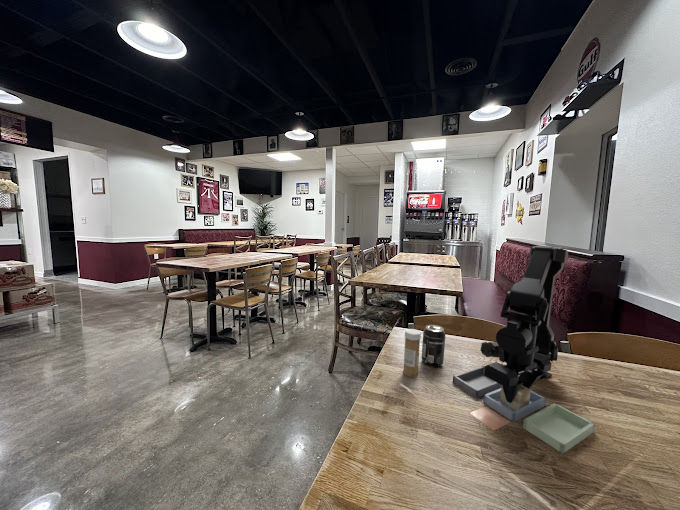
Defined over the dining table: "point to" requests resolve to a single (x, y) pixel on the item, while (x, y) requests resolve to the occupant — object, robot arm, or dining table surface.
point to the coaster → (489, 418)
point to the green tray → (558, 427)
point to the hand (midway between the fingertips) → (514, 399)
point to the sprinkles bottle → (411, 352)
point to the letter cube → (517, 398)
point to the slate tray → (514, 415)
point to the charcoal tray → (476, 382)
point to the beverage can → (433, 345)
